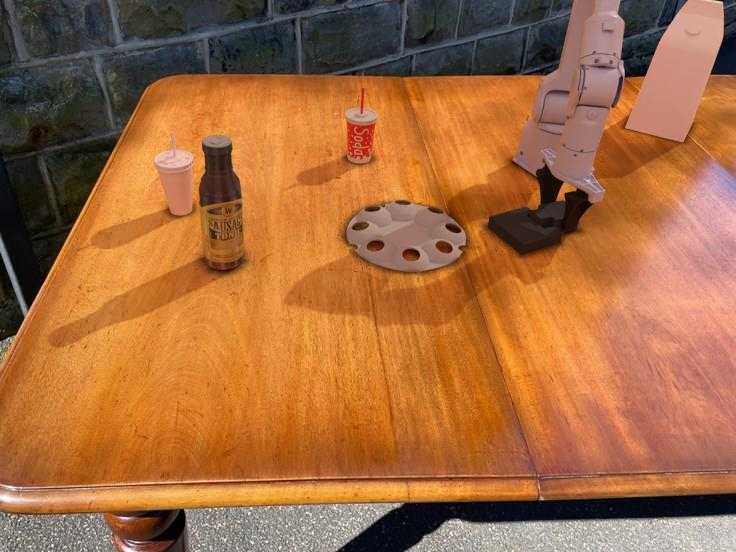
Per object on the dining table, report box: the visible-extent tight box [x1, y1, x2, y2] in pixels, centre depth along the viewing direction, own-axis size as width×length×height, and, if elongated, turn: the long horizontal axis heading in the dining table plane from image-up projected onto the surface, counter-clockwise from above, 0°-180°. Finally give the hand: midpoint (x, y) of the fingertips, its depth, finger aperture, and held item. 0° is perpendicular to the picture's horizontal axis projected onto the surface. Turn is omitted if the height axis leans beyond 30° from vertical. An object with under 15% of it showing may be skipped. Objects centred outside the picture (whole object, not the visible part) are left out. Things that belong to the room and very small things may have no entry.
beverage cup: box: [344, 87, 379, 165], centre depth 120 cm, size 6×6×14 cm
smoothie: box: [153, 130, 195, 216], centre depth 104 cm, size 6×6×14 cm
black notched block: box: [529, 199, 580, 233], centre depth 107 cm, size 5×7×3 cm
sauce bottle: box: [198, 134, 245, 271], centre depth 92 cm, size 6×6×20 cm
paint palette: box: [346, 199, 467, 273], centre depth 104 cm, size 20×20×2 cm
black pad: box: [487, 206, 564, 255], centre depth 105 cm, size 9×8×2 cm
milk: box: [624, 0, 725, 143], centre depth 132 cm, size 12×12×26 cm
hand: (557, 218), depth 107 cm, fingers open, 6 cm apart
